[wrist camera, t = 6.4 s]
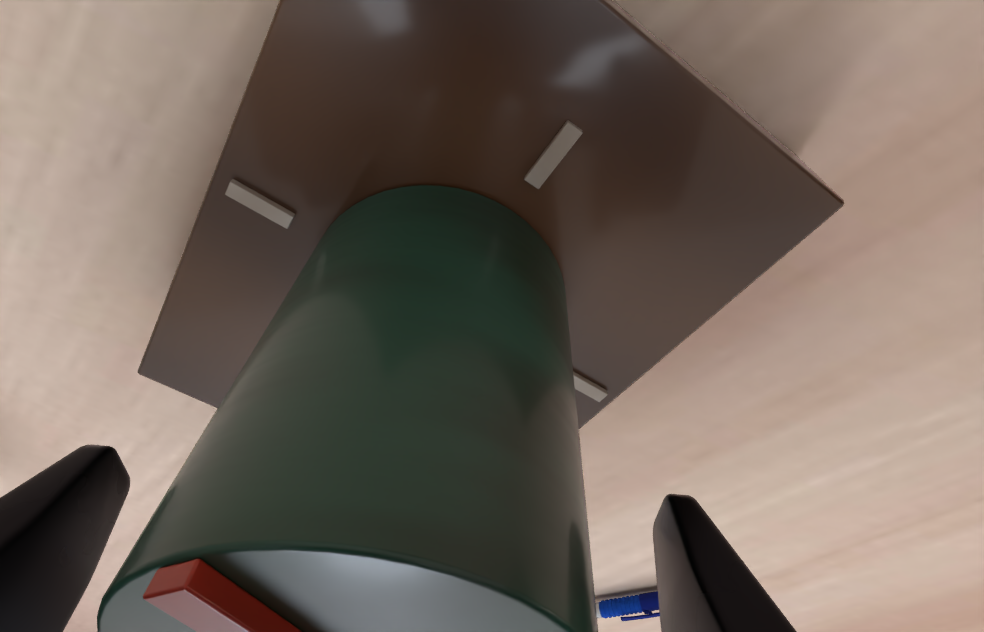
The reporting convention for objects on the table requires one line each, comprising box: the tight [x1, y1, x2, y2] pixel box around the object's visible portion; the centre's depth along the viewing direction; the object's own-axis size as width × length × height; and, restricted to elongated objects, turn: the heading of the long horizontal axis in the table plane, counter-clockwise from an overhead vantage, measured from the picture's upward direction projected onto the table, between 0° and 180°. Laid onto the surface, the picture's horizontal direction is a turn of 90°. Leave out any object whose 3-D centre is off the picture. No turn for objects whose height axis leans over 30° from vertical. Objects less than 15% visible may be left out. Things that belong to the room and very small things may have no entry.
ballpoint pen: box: [595, 591, 660, 621], centre depth 26 cm, size 10×1×1 cm, turn 116°
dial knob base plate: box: [138, 0, 844, 429], centre depth 14 cm, size 14×11×3 cm
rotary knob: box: [97, 185, 598, 632], centre depth 10 cm, size 6×6×8 cm
